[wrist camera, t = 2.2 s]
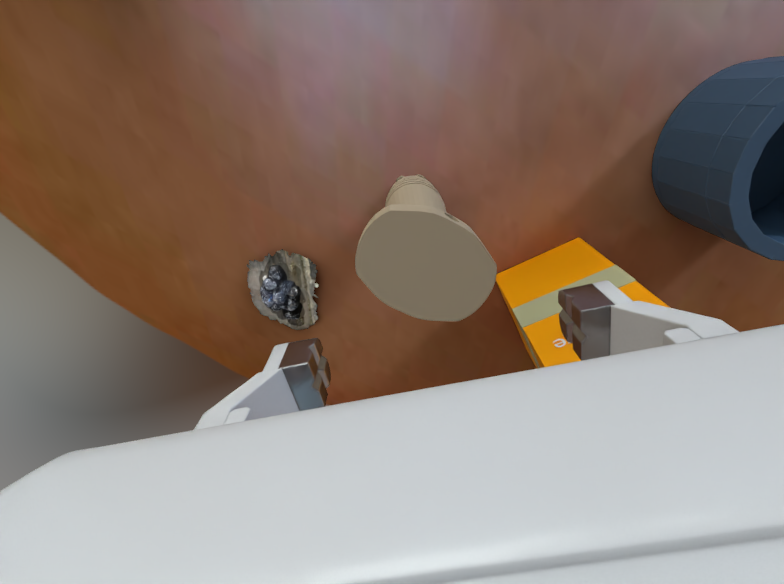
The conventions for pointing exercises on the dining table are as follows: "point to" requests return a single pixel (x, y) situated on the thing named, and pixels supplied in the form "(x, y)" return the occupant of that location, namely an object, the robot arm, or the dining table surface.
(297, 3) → the dining table surface
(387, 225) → the handle
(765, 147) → the jar
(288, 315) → the mineral rock
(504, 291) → the orange juice
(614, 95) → the dining table surface
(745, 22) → the dining table surface
